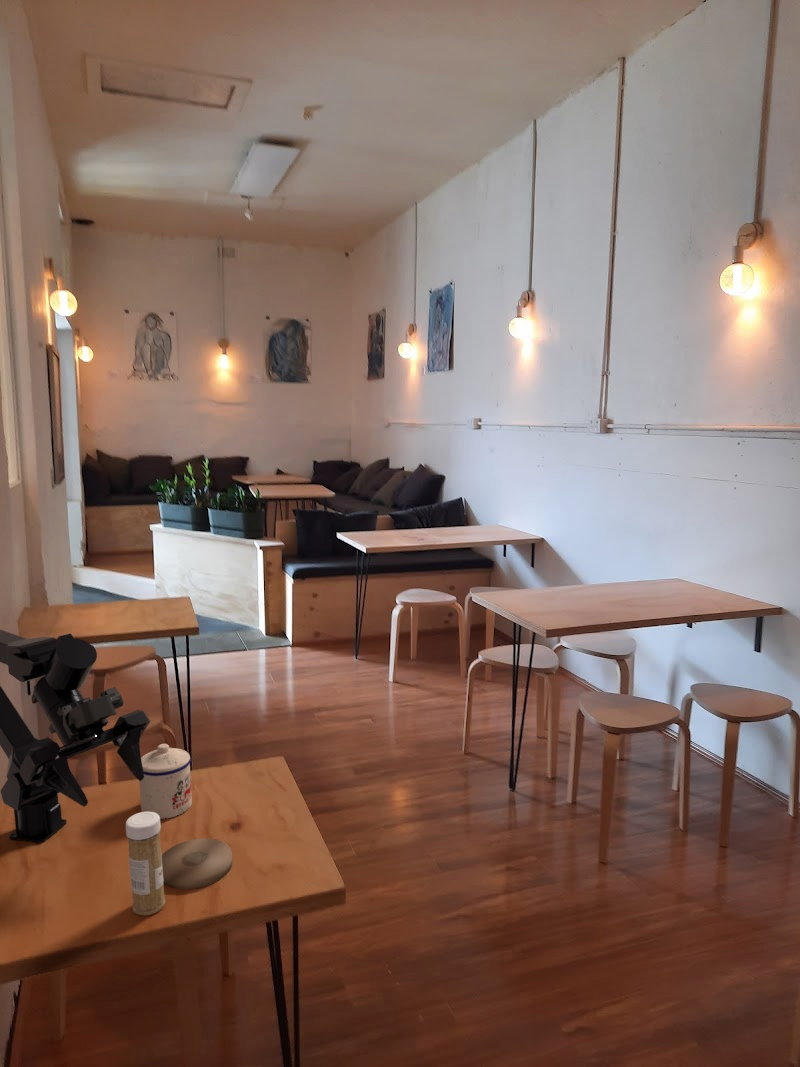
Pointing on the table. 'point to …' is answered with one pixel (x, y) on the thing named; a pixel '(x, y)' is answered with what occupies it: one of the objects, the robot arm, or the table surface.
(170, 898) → the table surface
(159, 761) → the cream ceramic jar
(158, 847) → the sprinkles bottle
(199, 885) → the grey-brown round disc
